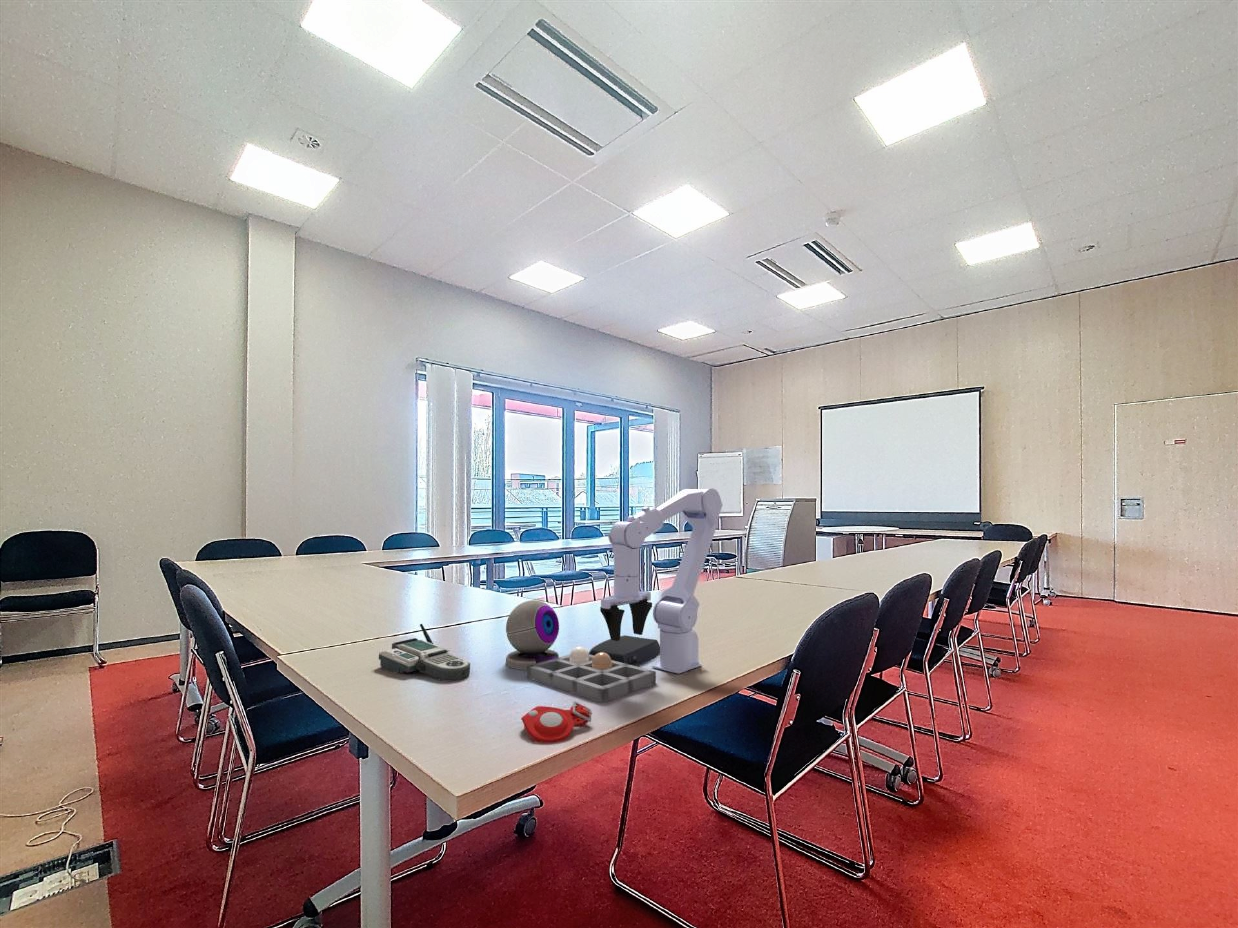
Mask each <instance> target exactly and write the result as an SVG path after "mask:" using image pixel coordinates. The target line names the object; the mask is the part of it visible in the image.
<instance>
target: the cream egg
mask: <svg viewBox="0 0 1238 928" xmlns="http://www.w3.org/2000/svg"><path fill="white" fill-rule="evenodd" d="M588 653H589V651H588V650H587V649H586V648H585V647H583V646H576V647H574V648H573V649H572V650H571V651H570V654H569V655H570V662H573V663H576V664H581V663H584V662H588V661H589V655H588Z"/></svg>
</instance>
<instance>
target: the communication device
mask: <svg viewBox="0 0 1238 928" xmlns="http://www.w3.org/2000/svg"><path fill="white" fill-rule="evenodd" d="M419 627H420V629H421V631H422V634H423V636H424V638H425V640H423V639H418V638H417V637H415V638H414V637H413V638H409V639H405V640H399V641H396V642H393V643H392V644H391V649H387V650H383V651H379V652H378V660H379V661H380V664H379V665H380V668H383V669H385V670H388V671H390V672H392V673H395V672H396V674H405V673H407V674H408V673H412V672H416V671H417V670H418V672H420V673H421V674H424V675H426V676H429V677H431V678H433V679H436V680H439V679H440V680H439V681H443V680H446V681H447V680H453V681H458V679H459V680H463V679H465V678H468V676H469V675H470V673H471V663H470V662H469V661H468V660H467V659H464V658H461V657H459V656H456V655H453V654H450V649H449V648H447V649H446V648H445V647H442V646H439V645H436V644H434V642H433V640H432V639H431V637H430V634H429V633H428V632H427V629H426V628H425V626H424V625H423V623H420V624H419ZM447 682H448V681H447Z"/></svg>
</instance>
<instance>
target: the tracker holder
mask: <svg viewBox="0 0 1238 928" xmlns="http://www.w3.org/2000/svg"><path fill="white" fill-rule="evenodd" d="M592 715H593V712H592V709H591V708H589V707H587V706H585V705H584V704H581V703H579V702H577V701H576V700H573V702H572V706H571V707H570V708H569V709H564V708H558V707H553V706H546V705H545V706H543V705H539V706H538V705H537V706H535V707H533V708H532V709H531V710H529V711H528V712H527V713H526V714H524V715H523V716H522V717H520V720H521V721H522V723H523V727H524V729H525V732H526V733H527V735H528V737H529V738H530V739H531V740H533V742H537V743H540V744H552V743H555V744H556V743H559V742H563V741H565V740H567V739H568V738H569V737H570V736H571V735H572V734H573V730H574V727H581V726H584V725H586V724H587V723H591V721H592Z"/></svg>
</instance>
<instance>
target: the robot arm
mask: <svg viewBox="0 0 1238 928" xmlns="http://www.w3.org/2000/svg"><path fill="white" fill-rule="evenodd" d="M722 508H723V502H722V499H721V495H720V493H719V491H718V490H717V489H715V488H712V487H710V488H699V489H698V488H692V489H690V488H683V489H682V490H681V491H677V492H676V495H674V496H673V497H671V498H669V499H668V500H667V501H666V502H664V503H662V504H660V505H659V506H658V507H653V506H644V507H641V511H640V512H638V513H636V514H635V515H629V516H628V517H627V519H625V521H617V522H615V523H613V525H612V526H611V529H610V531H609V533H608V535H607V536H608V542H609V544H610V545H611V547H612V548H611V551H612V553H613V594H612V595H610V596H607V597H605V598H601V599H600V608H599V611H600V613H601V614H602V617H603V618H604V620H605V622H606V623H605V624H606V626H607V629H608V633H609V637H610V638H609V639H611V640H614V641H619V640H620V636H621V627H622V622H623V621H622V620H623V616H624V615H625V609H622V608H621V609H620V606H624V605H629V609H630V614H631V619H632V632H633V634H634V635H638V636H642V635H643V633H644V630H645V629H644V628H645V624H646V621H647V618H648V615H649V613H650V612H651V609H652V608H653V610H652V618H653V620H654V622H655V623H656V624H657V629H659V645H660V654H659V662H657V663H655V664H653V665H652V668H654V669H658V670H661V671H662V670H663V671H666V672H670V673H673V674H674V673H675V674H683V673H684V672H688V671H689V670H693V669H695V668H698V667H701V666H702V665H703V663H701V662H700V661H699V637H698V636H699V635H698V634H697V632H696V630H695V629H694V627H695V625H696V624H697V620H698V609H699V606H700V603H699V601H698V599H697V597H696V595H694V593H695V590H696V587H697V585H698V582H699V579H700V575H701V573H702V571H703V568H704V564H705V562H706V558H707V556H708V553H709V550H710V547H711V544H712V541H713V539H714V536H715V533H716V529H717V522H718V519H719V517H720V514H721V511H722ZM679 513H682V515H683V517H684V518H685V520H686V521H687V523H688V524H689V525H690V526H691V528H692V530H691V534H690V536H689V538H688V540H687V541H688V542H687V544H686V547H685V549H684V551H683V554H682V555H683V556H682V558H681V560H680V563H679V565H678V568H677V572H676V574H675V577H674V580H673V583H672V585H671V586H670V587H669V588H667V589H665V590H664V591H663V592H662V593H661V595H660V598H659V599H658V600H657V601H656V602H655V604H654V606H653V602H651V599H652V597H651V596H652V595H651V594H652V591H647V590H646V591H645V590H643V591H640V547H642V546H643V544H644V543H645V540H646V538H647V537H650V536H651V535H653V534H654V533H656V532H657V531H659V530H661V529H662V528H663V527H664V522H665V521H667V520H668V519H671V518H673V517H674V516H676V515H678V514H679Z"/></svg>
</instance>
